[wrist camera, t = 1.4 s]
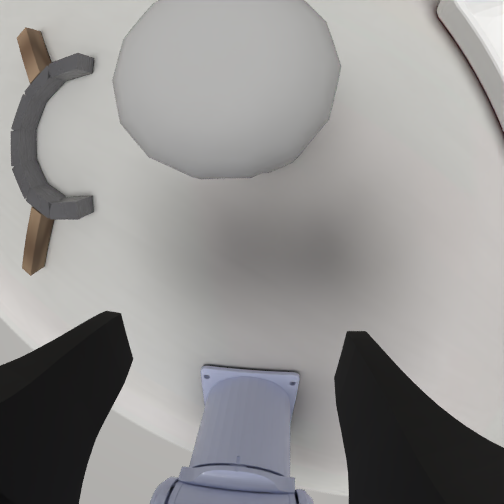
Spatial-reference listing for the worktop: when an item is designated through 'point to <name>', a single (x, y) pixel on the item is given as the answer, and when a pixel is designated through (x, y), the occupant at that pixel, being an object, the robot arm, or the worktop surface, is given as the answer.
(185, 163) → the salt shaker
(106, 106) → the worktop surface
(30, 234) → the hinge leaves
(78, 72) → the silver segmented arch
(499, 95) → the pan
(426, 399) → the robot arm
